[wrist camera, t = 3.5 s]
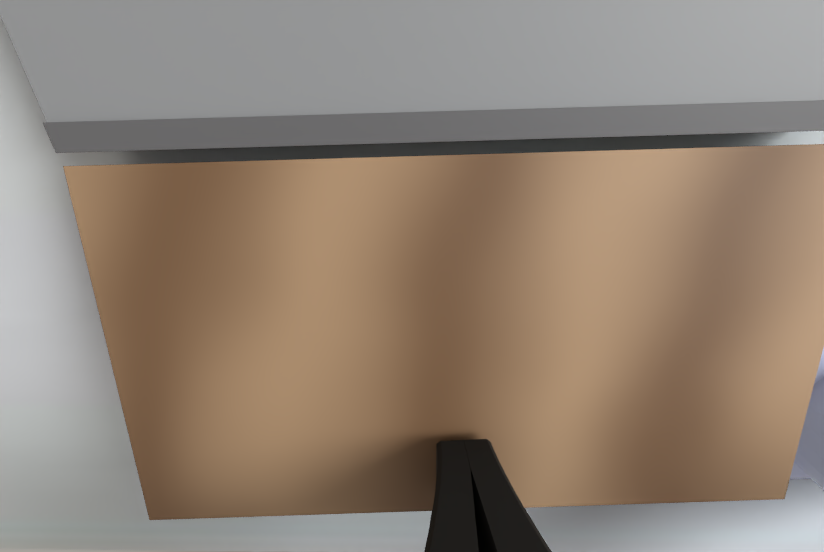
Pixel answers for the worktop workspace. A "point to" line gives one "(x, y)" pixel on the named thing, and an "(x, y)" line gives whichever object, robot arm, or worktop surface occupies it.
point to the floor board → (414, 70)
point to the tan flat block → (459, 324)
